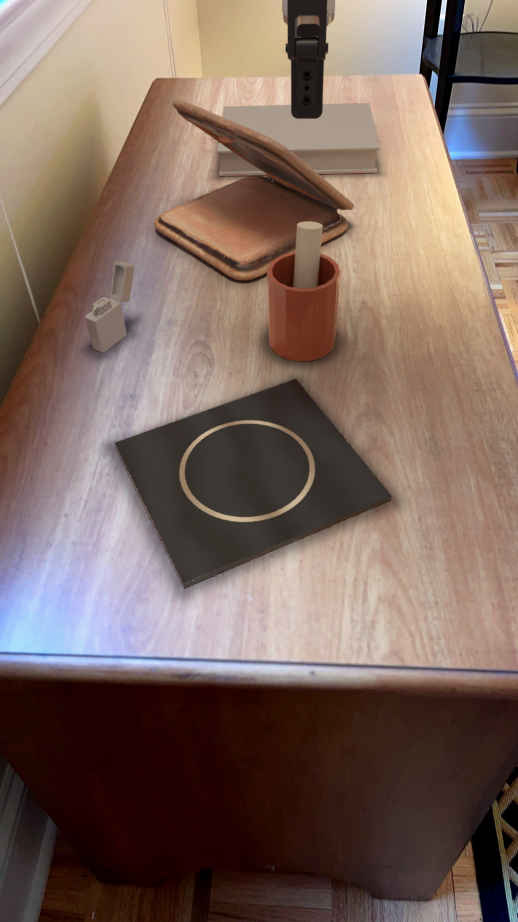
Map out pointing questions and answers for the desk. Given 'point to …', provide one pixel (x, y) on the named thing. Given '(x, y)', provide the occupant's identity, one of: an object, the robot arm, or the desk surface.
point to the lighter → (111, 310)
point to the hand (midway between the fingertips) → (308, 94)
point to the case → (252, 203)
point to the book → (309, 137)
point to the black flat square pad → (246, 479)
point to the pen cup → (302, 310)
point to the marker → (307, 254)
